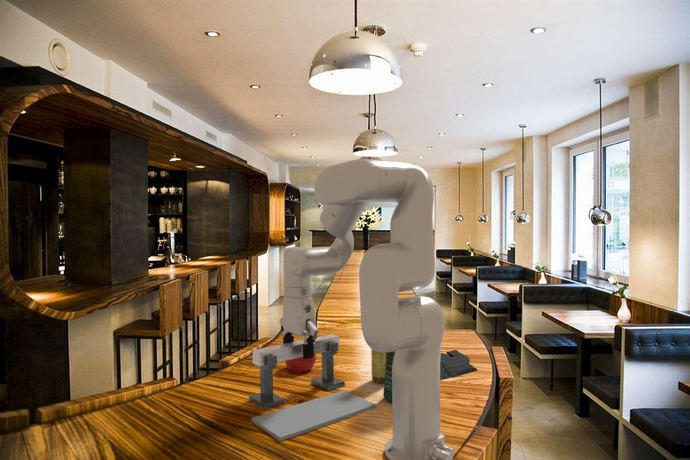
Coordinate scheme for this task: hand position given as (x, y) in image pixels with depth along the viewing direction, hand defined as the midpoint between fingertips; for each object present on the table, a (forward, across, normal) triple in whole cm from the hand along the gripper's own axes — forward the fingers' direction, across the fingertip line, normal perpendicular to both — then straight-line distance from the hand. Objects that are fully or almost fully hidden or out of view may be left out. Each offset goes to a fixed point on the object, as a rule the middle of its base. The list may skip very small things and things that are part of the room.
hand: (298, 354), depth 129 cm
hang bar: (0, 0, 0) cm, 0 cm away
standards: (+11, 0, 0) cm, 11 cm away
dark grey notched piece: (+11, -13, -45) cm, 48 cm away
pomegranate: (+11, +17, -12) cm, 23 cm away
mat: (+10, -15, +5) cm, 19 cm away
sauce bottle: (+11, -8, -24) cm, 28 cm away
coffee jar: (+11, -22, -18) cm, 31 cm away
